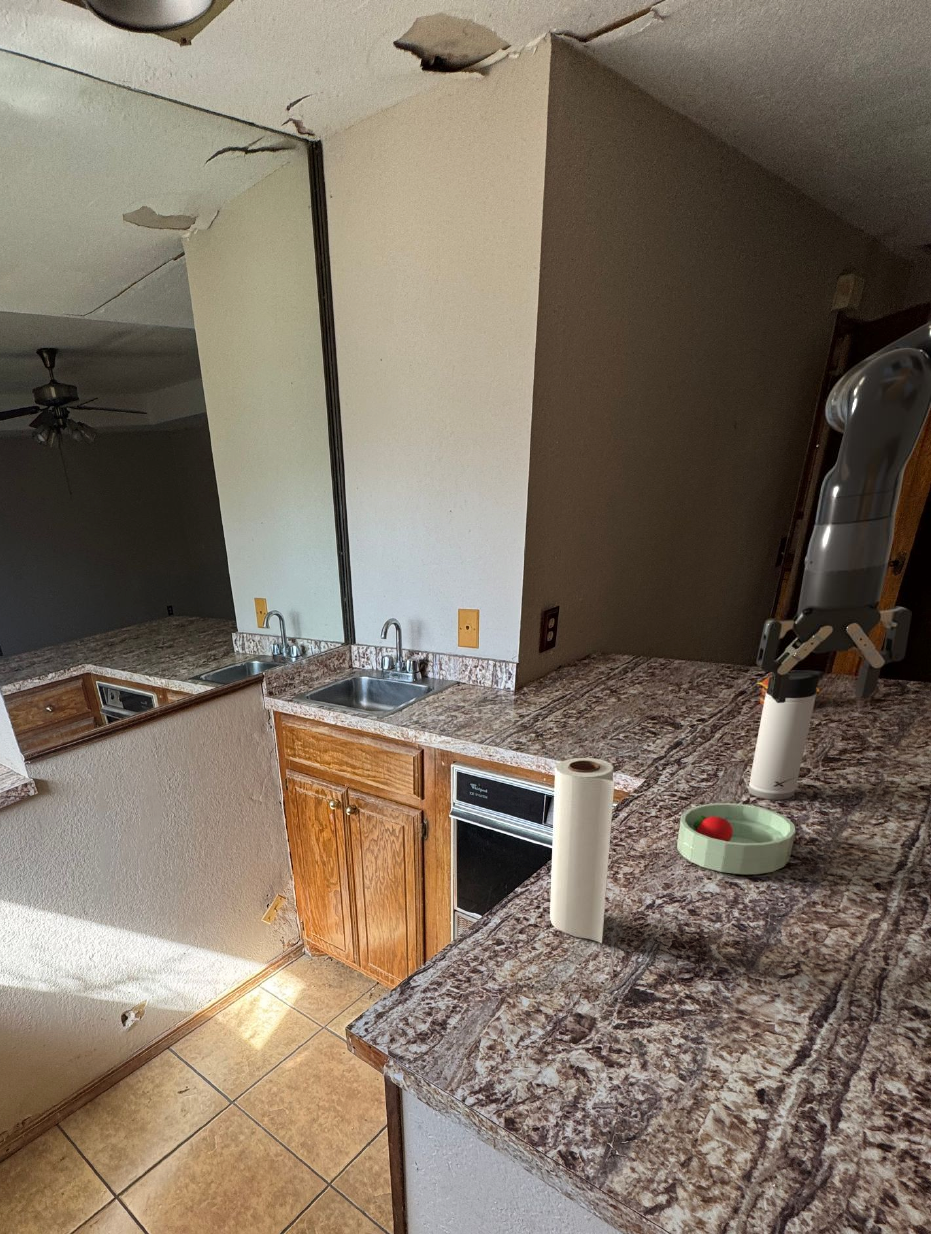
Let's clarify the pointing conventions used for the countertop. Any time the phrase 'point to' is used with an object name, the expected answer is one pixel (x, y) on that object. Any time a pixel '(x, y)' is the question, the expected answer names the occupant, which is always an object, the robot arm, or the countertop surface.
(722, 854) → the bowl
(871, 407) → the robot arm
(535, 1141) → the countertop surface
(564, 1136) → the countertop surface
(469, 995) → the countertop surface
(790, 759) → the travel mug
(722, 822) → the red tomato
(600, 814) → the paper towel roll
